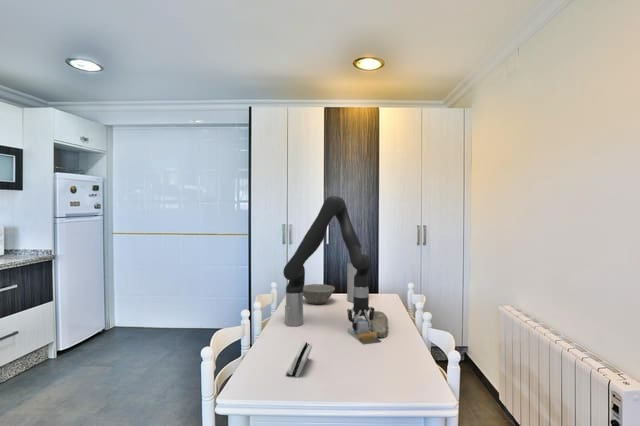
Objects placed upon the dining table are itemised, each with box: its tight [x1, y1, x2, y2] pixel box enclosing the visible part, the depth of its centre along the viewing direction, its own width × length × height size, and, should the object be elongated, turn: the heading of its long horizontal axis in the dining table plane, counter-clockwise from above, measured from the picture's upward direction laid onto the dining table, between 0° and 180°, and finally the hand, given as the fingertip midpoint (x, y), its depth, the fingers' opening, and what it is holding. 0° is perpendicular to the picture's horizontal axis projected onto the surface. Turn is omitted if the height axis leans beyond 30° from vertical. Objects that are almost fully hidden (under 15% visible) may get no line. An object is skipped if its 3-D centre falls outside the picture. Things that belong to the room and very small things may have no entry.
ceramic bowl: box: [303, 283, 335, 305], centre depth 227 cm, size 22×23×10 cm
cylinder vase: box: [346, 262, 357, 303], centre depth 233 cm, size 12×12×25 cm
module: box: [352, 317, 369, 334], centre depth 169 cm, size 4×8×7 cm, turn 19°
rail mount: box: [347, 327, 382, 345], centre depth 166 cm, size 9×18×3 cm, turn 19°
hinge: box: [284, 341, 313, 378], centre depth 133 cm, size 17×5×10 cm, turn 170°
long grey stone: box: [369, 310, 389, 338], centre depth 181 cm, size 35×5×10 cm
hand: (360, 329), depth 169 cm, fingers open, 6 cm apart
